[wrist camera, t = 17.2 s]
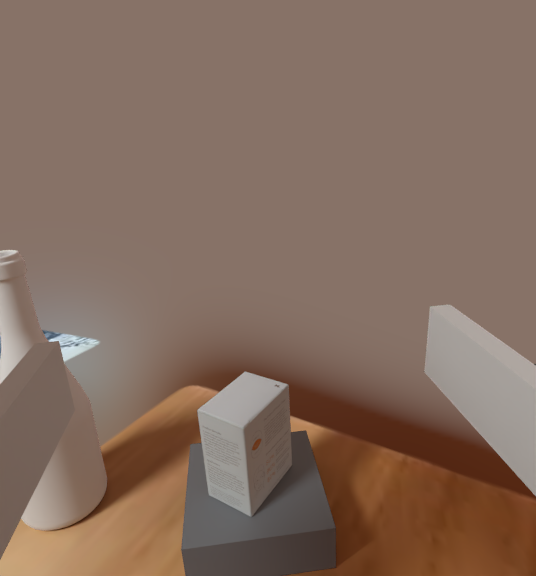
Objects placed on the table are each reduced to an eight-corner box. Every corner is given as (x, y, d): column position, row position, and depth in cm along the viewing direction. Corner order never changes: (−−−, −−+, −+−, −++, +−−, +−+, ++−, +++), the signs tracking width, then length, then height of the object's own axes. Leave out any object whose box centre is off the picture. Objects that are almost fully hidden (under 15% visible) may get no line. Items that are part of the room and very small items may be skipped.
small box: (251, 449, 50) (245, 369, 46) (293, 466, 47) (290, 382, 43) (206, 496, 44) (194, 408, 40) (251, 519, 41) (243, 427, 37)
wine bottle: (123, 496, 51) (71, 249, 41) (40, 552, 44) (-47, 275, 34) (87, 459, 57) (33, 238, 47) (9, 504, 50) (-72, 258, 41)
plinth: (187, 589, 40) (181, 549, 38) (195, 477, 53) (190, 444, 51) (336, 567, 41) (335, 527, 39) (306, 463, 54) (305, 430, 52)
